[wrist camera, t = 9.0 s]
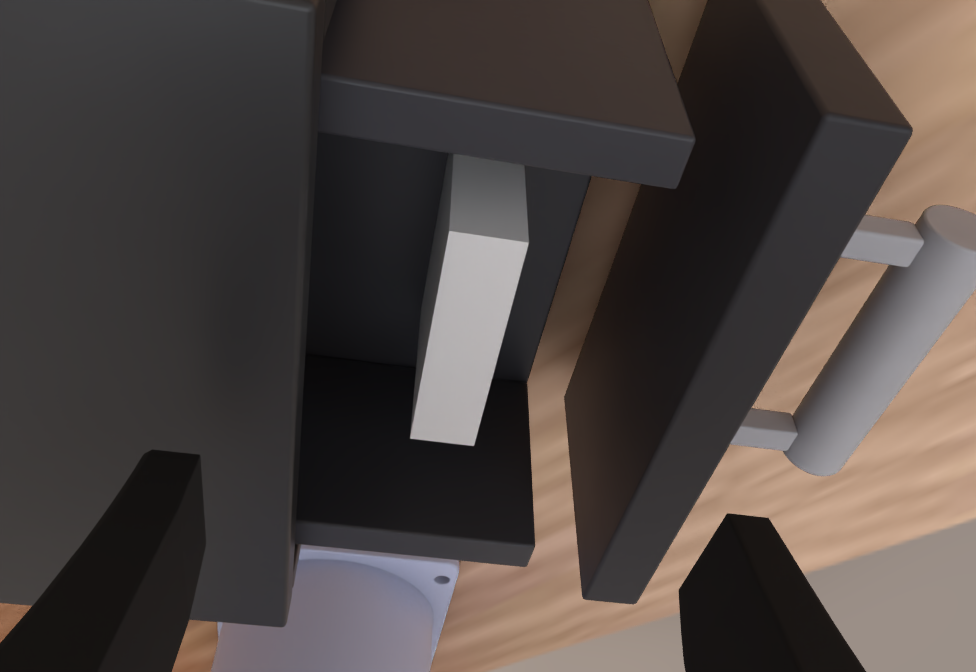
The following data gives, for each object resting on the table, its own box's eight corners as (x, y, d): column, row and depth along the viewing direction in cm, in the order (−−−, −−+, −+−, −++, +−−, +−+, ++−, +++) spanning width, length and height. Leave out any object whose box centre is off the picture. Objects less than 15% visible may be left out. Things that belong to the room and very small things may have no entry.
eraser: (523, 120, 15) (530, 244, 13) (477, 316, 19) (474, 447, 16) (455, 108, 15) (447, 231, 13) (420, 308, 19) (408, 439, 16)
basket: (1010, 0, 15) (1214, 182, 11) (756, 421, 23) (818, 624, 19) (-48, -212, 13) (-309, -87, 9) (65, 333, 21) (-44, 540, 16)
